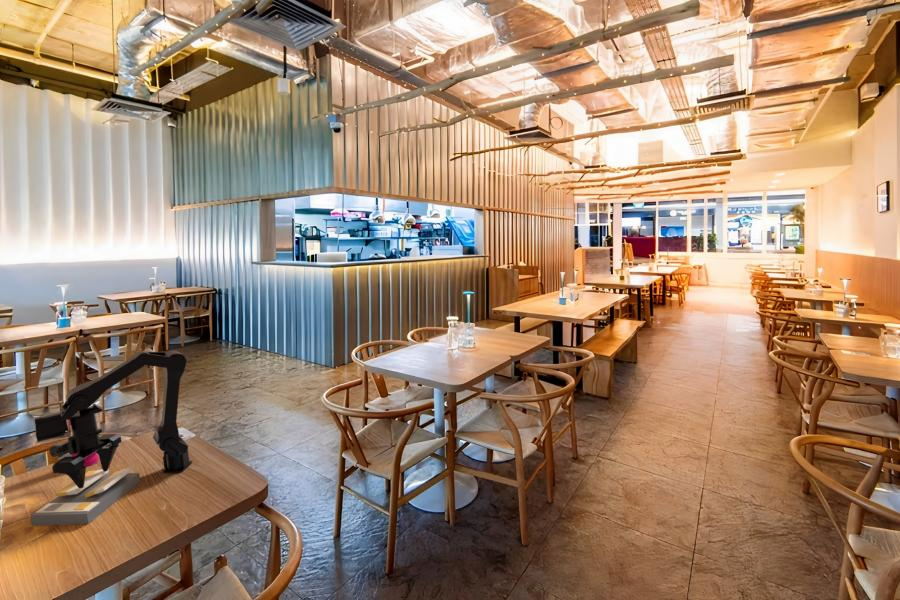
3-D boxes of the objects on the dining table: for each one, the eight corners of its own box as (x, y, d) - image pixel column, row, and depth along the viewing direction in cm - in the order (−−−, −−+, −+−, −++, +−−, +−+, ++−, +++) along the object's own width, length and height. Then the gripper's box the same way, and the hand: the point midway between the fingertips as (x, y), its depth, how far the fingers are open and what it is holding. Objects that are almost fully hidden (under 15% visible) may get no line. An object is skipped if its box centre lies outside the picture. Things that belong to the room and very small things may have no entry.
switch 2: (134, 468, 136) (132, 465, 136) (104, 490, 124) (103, 487, 124) (116, 475, 136) (115, 472, 136) (85, 497, 125) (84, 495, 124)
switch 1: (108, 471, 136) (108, 468, 136) (77, 493, 124) (76, 490, 124) (89, 473, 136) (89, 470, 136) (56, 496, 124) (55, 493, 124)
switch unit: (140, 481, 138) (138, 470, 137) (88, 523, 118) (86, 511, 117) (92, 483, 138) (90, 472, 137) (32, 525, 117) (29, 513, 117)
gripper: (83, 418, 137) (91, 464, 139) (27, 446, 119) (37, 499, 121) (118, 416, 137) (126, 462, 139) (68, 443, 119) (78, 496, 121)
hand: (93, 479), depth 130 cm, fingers open, 9 cm apart
